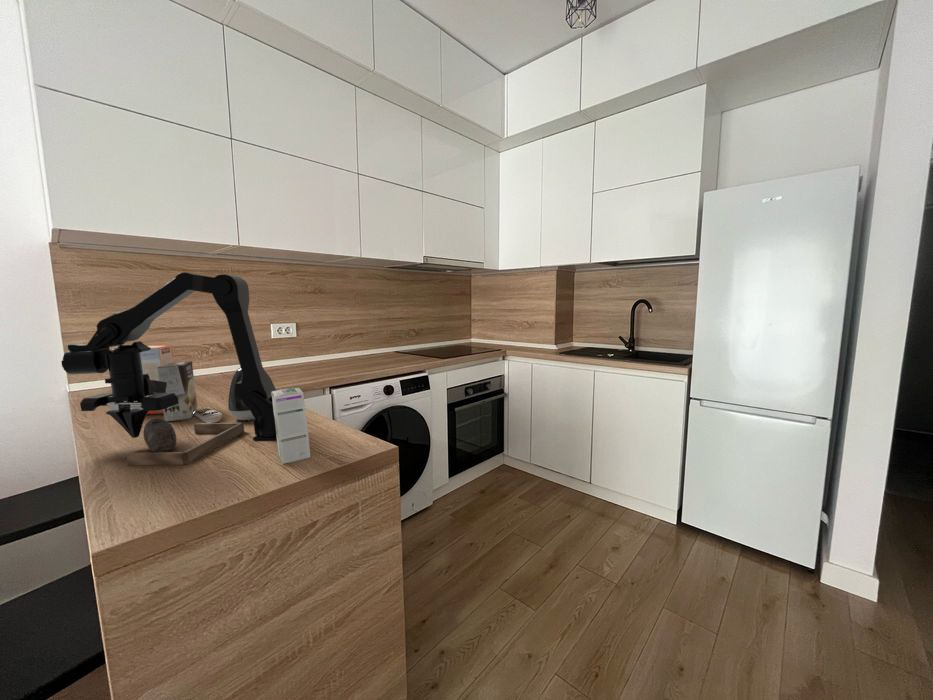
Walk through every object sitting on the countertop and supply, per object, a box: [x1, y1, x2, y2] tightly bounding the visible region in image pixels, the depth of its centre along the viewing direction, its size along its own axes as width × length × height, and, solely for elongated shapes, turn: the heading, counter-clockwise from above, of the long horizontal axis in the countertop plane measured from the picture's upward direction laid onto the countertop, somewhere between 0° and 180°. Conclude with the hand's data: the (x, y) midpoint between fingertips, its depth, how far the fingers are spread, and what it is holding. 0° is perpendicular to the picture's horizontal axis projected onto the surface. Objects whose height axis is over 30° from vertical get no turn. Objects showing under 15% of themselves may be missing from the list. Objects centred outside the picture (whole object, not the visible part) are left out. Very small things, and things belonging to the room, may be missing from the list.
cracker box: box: [111, 344, 175, 415], centre depth 118 cm, size 14×6×21 cm, turn 92°
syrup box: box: [272, 387, 311, 465], centre depth 80 cm, size 6×6×14 cm
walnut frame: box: [125, 422, 245, 466], centre depth 88 cm, size 13×19×2 cm, turn 178°
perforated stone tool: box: [143, 418, 178, 452], centre depth 88 cm, size 15×5×7 cm, turn 46°
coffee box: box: [157, 360, 199, 422], centre depth 112 cm, size 9×6×16 cm
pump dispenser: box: [227, 367, 255, 422], centre depth 109 cm, size 10×10×15 cm
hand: (135, 437), depth 89 cm, fingers closed
